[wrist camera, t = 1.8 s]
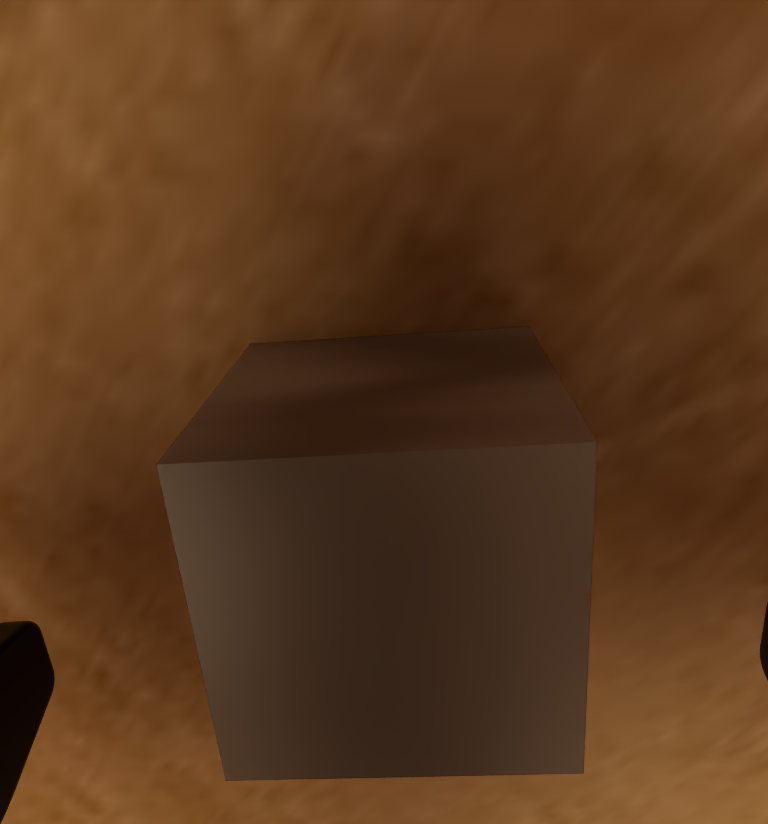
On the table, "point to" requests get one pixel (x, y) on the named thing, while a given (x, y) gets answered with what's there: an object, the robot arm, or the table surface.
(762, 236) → the table surface
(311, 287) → the table surface
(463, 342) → the walnut cube
